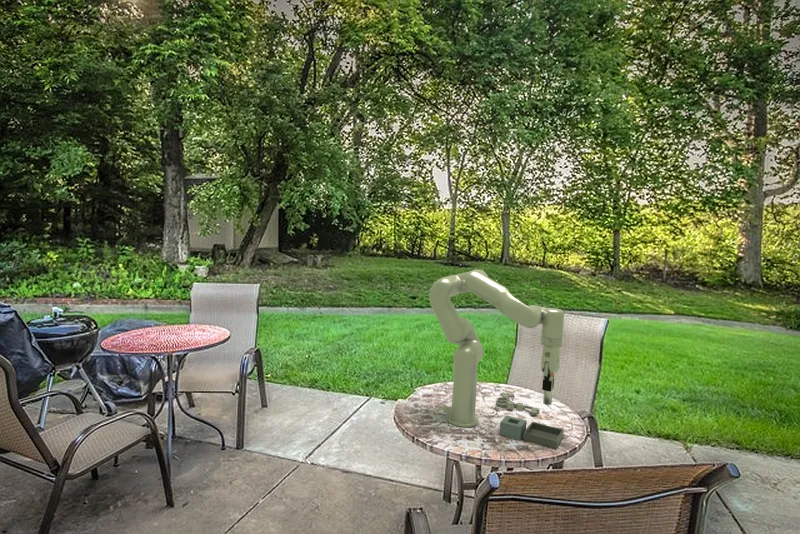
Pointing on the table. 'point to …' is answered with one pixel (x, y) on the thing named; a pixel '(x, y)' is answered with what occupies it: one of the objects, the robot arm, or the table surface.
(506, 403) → the pulley system
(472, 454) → the table surface
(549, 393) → the pin
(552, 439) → the parts tray
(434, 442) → the table surface
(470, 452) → the table surface
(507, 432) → the block
